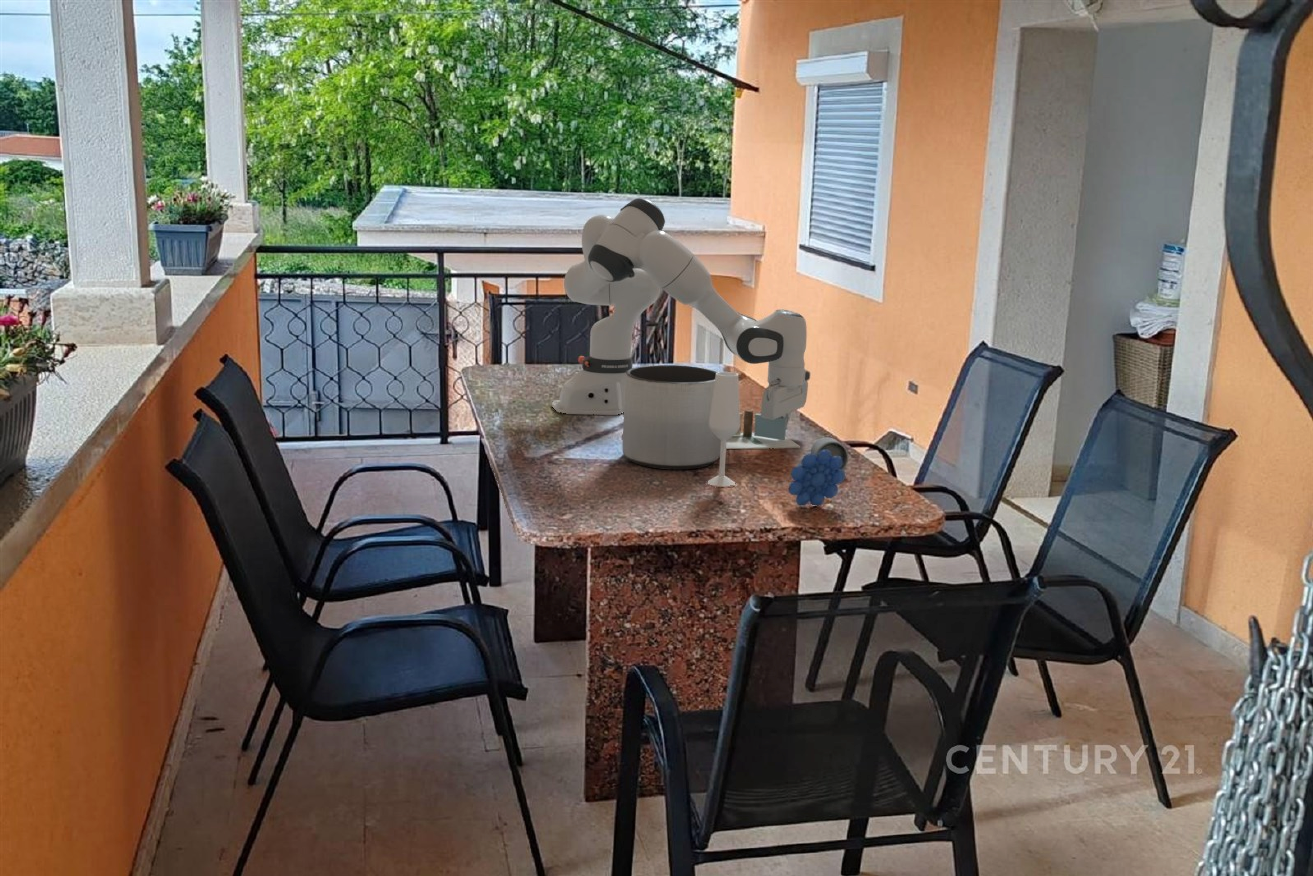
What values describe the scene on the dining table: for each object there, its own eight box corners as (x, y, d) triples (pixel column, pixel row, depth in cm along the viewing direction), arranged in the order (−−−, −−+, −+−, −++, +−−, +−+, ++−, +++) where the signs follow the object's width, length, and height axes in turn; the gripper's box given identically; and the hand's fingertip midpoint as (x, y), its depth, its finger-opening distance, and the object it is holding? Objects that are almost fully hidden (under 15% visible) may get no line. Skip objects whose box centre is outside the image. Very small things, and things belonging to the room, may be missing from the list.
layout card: (717, 450, 292) (717, 448, 291) (699, 435, 306) (699, 433, 306) (799, 447, 297) (800, 445, 297) (778, 433, 311) (778, 431, 311)
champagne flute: (711, 488, 259) (717, 377, 253) (701, 480, 265) (706, 371, 259) (741, 487, 260) (747, 376, 255) (730, 479, 267) (736, 370, 261)
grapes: (836, 500, 254) (840, 444, 251) (846, 509, 247) (850, 452, 244) (782, 500, 252) (785, 444, 249) (790, 510, 245) (794, 452, 243)
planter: (635, 473, 268) (639, 383, 264) (612, 448, 290) (614, 365, 285) (733, 470, 274) (737, 382, 270) (702, 445, 296) (706, 364, 291)
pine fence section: (703, 439, 301) (704, 412, 300) (700, 437, 303) (701, 411, 302) (753, 438, 305) (754, 411, 303) (750, 436, 307) (751, 410, 305)
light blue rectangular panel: (753, 435, 304) (754, 414, 303) (755, 434, 305) (756, 413, 304) (784, 440, 300) (785, 419, 299) (785, 439, 301) (787, 418, 300)
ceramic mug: (839, 466, 282) (841, 433, 280) (847, 475, 274) (849, 442, 272) (793, 466, 281) (795, 433, 279) (801, 475, 273) (802, 442, 271)
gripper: (780, 384, 290) (776, 440, 293) (813, 371, 307) (809, 425, 311) (756, 380, 293) (752, 436, 296) (790, 368, 310) (786, 421, 314)
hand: (781, 430), depth 304 cm, fingers closed
